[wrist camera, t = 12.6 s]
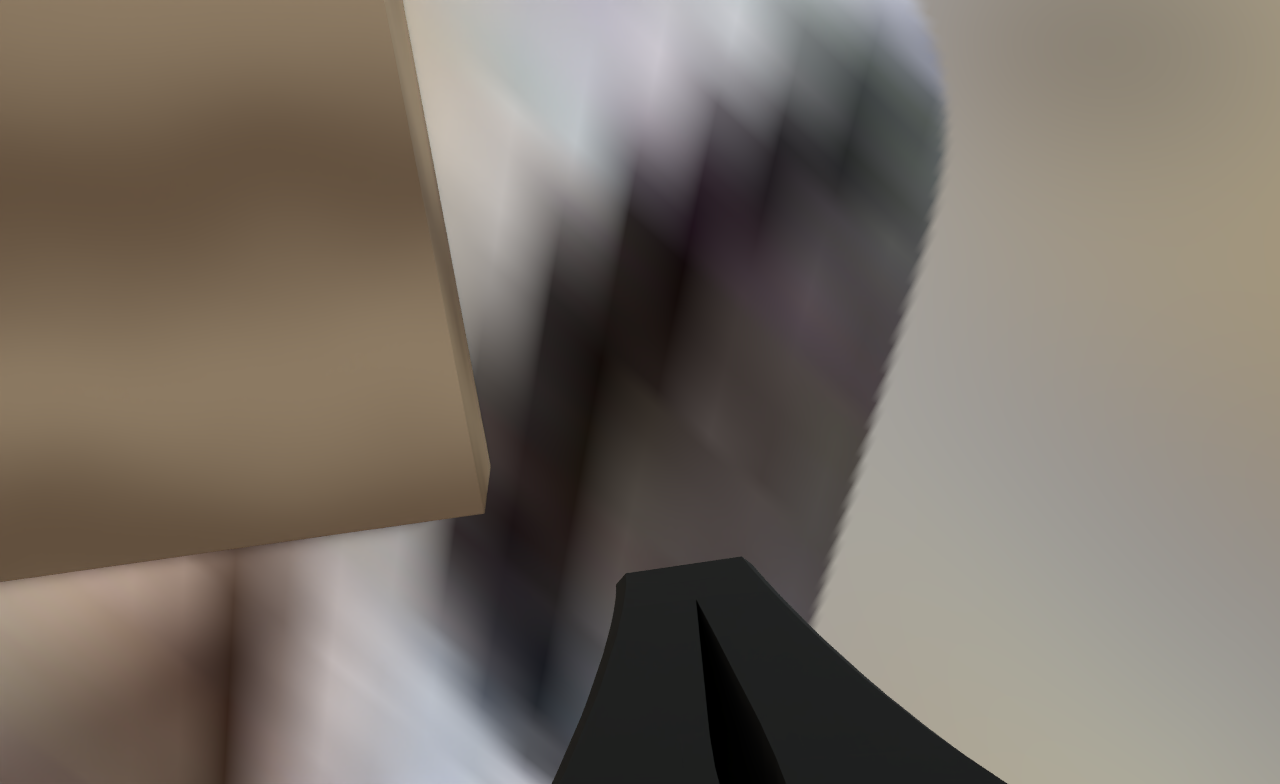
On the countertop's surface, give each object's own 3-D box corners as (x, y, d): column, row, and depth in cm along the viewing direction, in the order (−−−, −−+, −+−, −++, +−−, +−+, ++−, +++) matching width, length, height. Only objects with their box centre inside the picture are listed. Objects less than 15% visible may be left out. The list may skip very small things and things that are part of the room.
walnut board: (490, 466, 19) (484, 513, 17) (42, 528, 19) (-14, 583, 17) (361, -217, 15) (335, -252, 13) (-230, -154, 14) (-345, -180, 13)
